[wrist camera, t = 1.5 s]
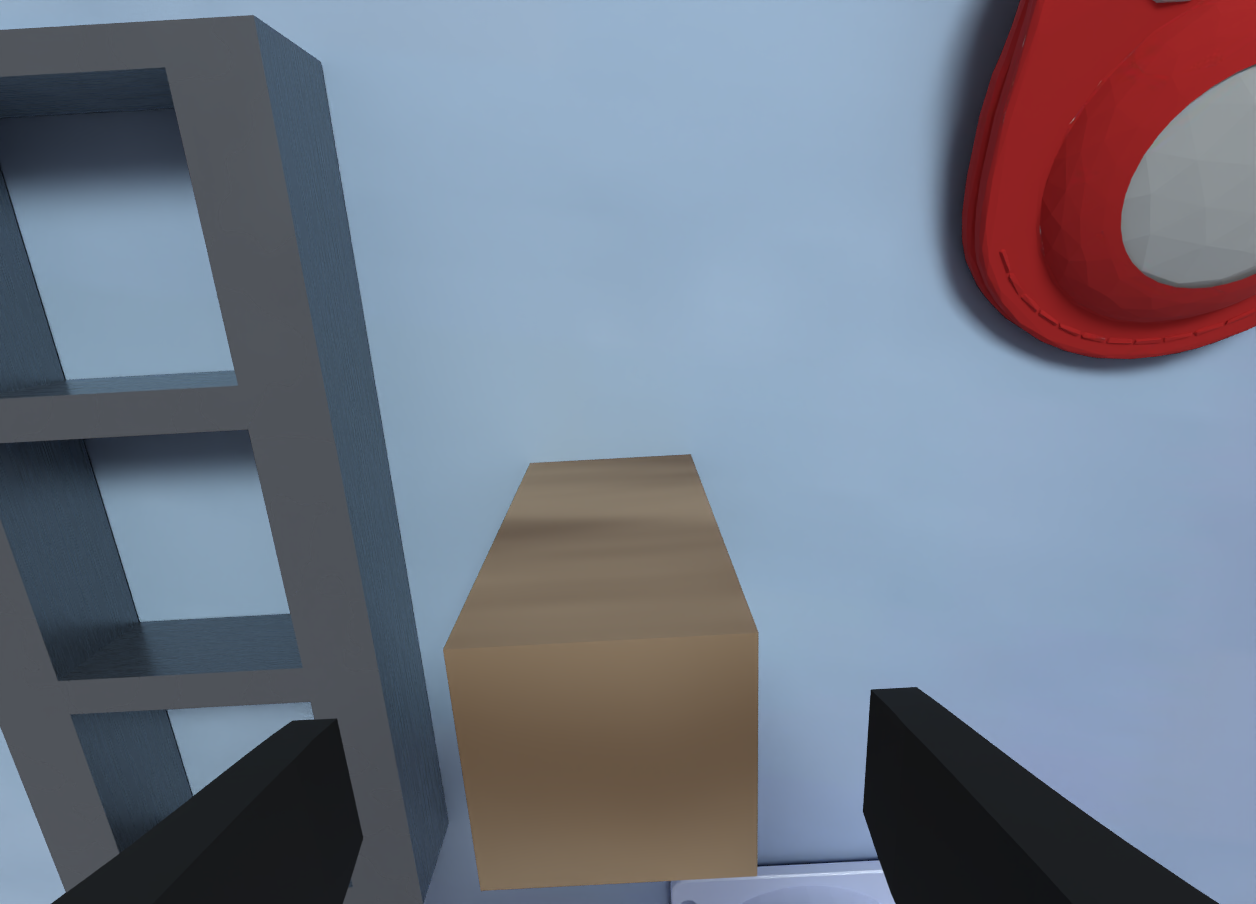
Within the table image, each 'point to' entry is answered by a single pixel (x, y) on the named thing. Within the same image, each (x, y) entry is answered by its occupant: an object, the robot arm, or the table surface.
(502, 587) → the walnut peg
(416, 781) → the rail
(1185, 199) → the tracker holder
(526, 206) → the table surface
